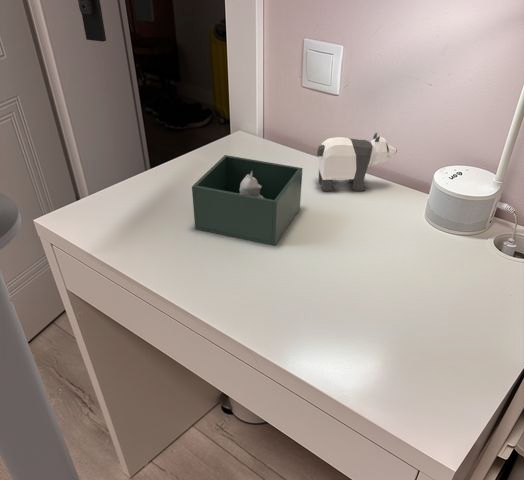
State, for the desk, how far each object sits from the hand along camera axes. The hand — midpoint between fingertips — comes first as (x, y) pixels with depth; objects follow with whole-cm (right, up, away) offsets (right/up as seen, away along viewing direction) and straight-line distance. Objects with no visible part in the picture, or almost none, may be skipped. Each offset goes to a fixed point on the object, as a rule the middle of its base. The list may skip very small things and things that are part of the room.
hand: (122, 29), depth 79 cm
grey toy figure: (+18, -24, +13) cm, 33 cm away
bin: (+18, -25, +13) cm, 33 cm away
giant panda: (+37, -16, +23) cm, 47 cm away
